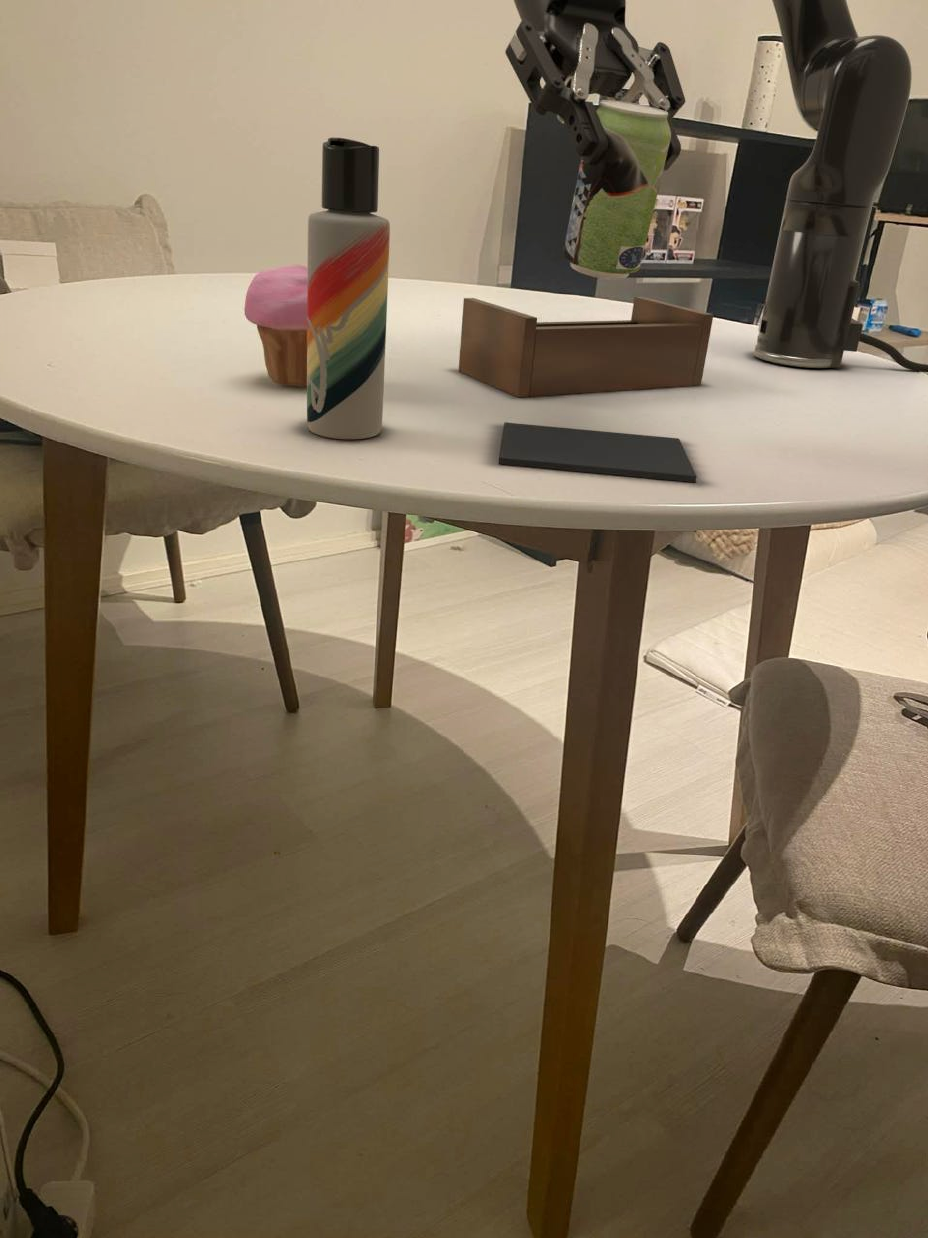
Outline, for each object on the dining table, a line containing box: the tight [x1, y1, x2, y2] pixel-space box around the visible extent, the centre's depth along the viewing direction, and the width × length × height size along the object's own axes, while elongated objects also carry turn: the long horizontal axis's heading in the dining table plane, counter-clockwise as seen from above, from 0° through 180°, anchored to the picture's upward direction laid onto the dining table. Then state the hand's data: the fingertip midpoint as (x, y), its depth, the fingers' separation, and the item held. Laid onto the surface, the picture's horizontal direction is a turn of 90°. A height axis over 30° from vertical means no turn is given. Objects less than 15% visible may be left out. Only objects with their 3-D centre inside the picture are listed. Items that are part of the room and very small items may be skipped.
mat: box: [498, 421, 698, 483], centre depth 74 cm, size 14×10×1 cm
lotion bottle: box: [306, 137, 391, 440], centre depth 70 cm, size 6×6×20 cm
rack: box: [458, 296, 714, 398], centre depth 97 cm, size 11×22×7 cm, turn 121°
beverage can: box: [562, 99, 671, 280], centre depth 73 cm, size 6×7×12 cm
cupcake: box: [243, 264, 308, 387], centre depth 85 cm, size 9×9×10 cm
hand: (634, 158), depth 70 cm, fingers closed on beverage can, 6 cm apart
